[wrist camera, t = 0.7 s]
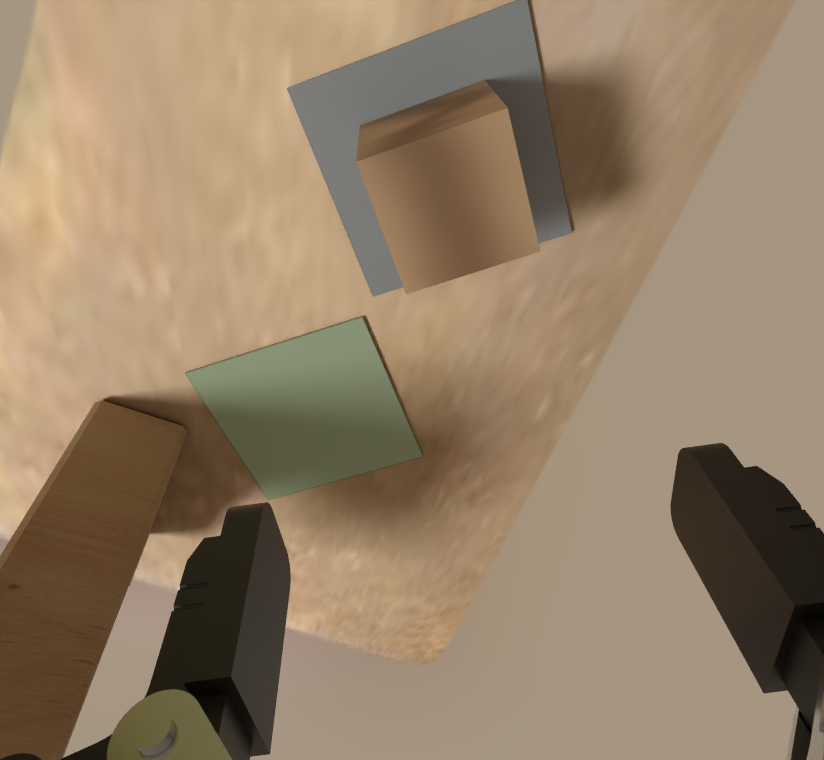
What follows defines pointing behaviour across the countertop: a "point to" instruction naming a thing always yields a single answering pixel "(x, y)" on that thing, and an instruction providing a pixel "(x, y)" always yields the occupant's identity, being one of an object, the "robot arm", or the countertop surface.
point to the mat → (309, 409)
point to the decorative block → (76, 571)
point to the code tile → (421, 81)
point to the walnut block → (447, 186)
